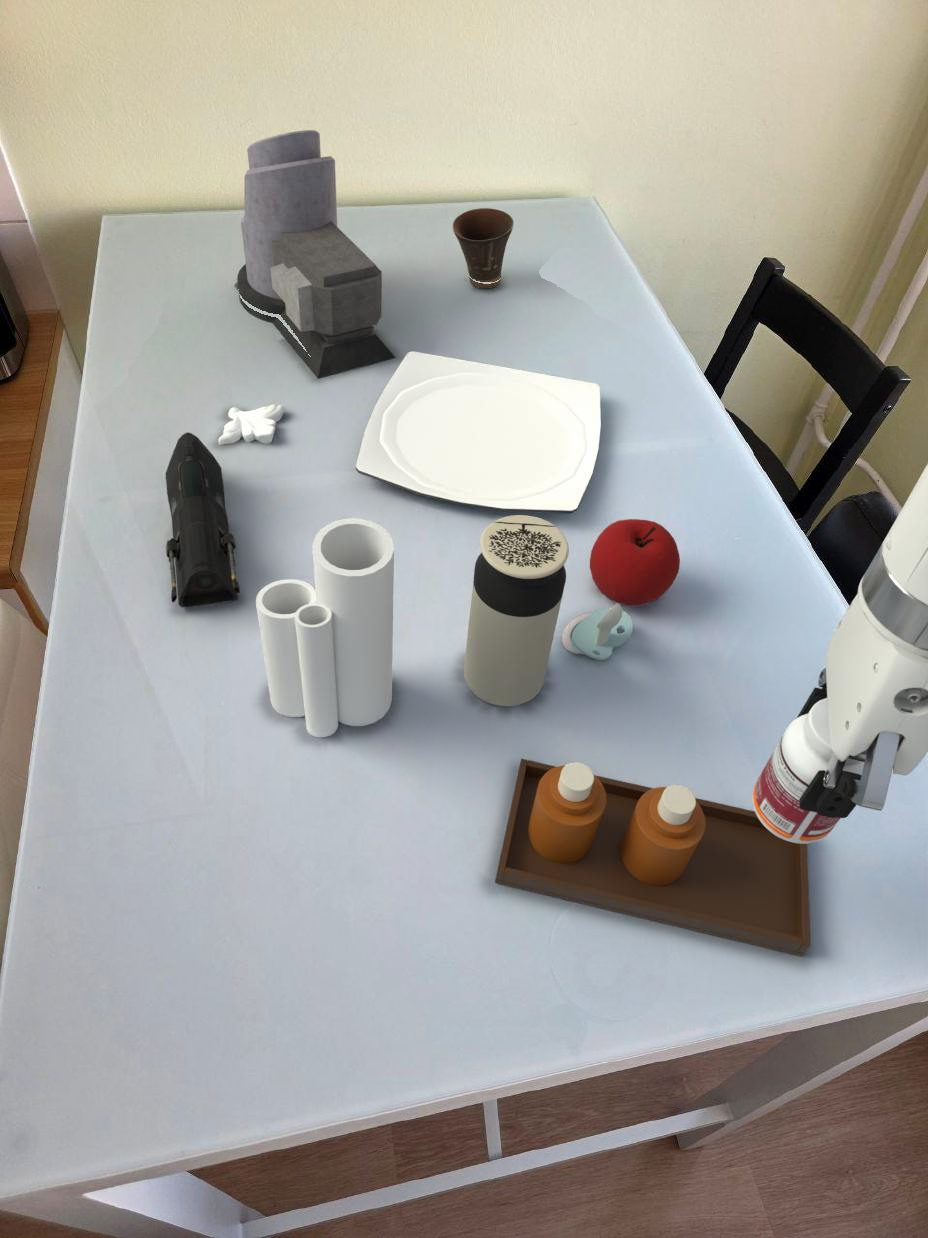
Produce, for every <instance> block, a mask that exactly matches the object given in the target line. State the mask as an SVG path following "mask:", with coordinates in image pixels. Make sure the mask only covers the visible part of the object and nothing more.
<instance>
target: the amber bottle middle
mask: <svg viewBox="0 0 928 1238" xmlns="http://www.w3.org/2000/svg"><path fill="white" fill-rule="evenodd" d="M695 798H696V797H695V795H694V793H693V792H692V791H691V790H690V789H689V788H687V786H684V785H681V784H671V785H669V786H658V787H654V789H651V790H649V791H647V792H646V793H644V794H643V795H642V796H641V798H640V799H639V801H638V803H637V805H636V808H635V810H634V813H633V815H632V817H631V820H630V822H629V825H628V827H627V830H626V832H625V835H624V837H623V839H622V842H621V846H620V853H621V858H622V861H623V863H624V865H625V867H626V868H627V870H628V871H629V872H630V873H631V874H632V875H633V876H634V877H635V878H637V879H638V880H640V881H642V882H644V883H647V884H650V885H666V884H670V883H672V882H674V881H675V880H677V879H678V878H679V877H680V876H681V875H682V873H683V871H684V869H685V868H686V866H687V864H688V862H689V860H690V858H691V857H692V855H693V853H694V851H695V849H696V847H697V846H698V844H699V842H700V840H701V838H702V836H703V834H704V832H705V826H706V822H705V816H704V813H703V811H702V809H701V807H700V806H699V804H698V803H697V802H696V799H695Z"/></svg>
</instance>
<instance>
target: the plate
mask: <svg viewBox="0 0 928 1238" xmlns="http://www.w3.org/2000/svg"><path fill="white" fill-rule="evenodd" d="M601 416H602V415H601V387H600V386H599V384H597V383H594V382H589V381H583V380H577V379H572V378H567V377H560V376H555V375H549V374H545V373H540V372H539V373H538V372H533V371H529V370H523V369H516V368H513V367H512V368H511V367H505V366H501V365H500V366H499V365H495V364H488V363H482V362H476V361H472V360H465V359H461V358H460V359H459V358H453V357H449V356H443V355H437V354H430V353H425V352H418V351H413V350H412V351H409V352H407V353H406V354H405V357H404V358H403V359H402V360H401V362H400V364H399V366H398V367H397V368H396V370H395V372H394V373H393V375H391V377H390V380H389V381H388V382H387V384H386V386H385V387H384V389H383V391H382V392H381V395H380V396H379V397H378V400H377V402H376V404H375V405H374V407H373V410H372V413H371V415H370V417H369V419H368V422H367V424H366V427H365V430H364V433H363V436H362V439H361V444H360V448H359V451H358V456H357V460H356V464H355V468H354V469H355V471H356V472H357V473H358V474H360V475H363V476H366V477H368V478H371V479H374V480H377V481H379V482H382V483H384V484H388V485H391V486H394V487H396V488H399V489H402V490H405V491H408V492H410V493H412V494H414V495H415V494H416V495H418V496H422V497H425V498H430V499H435V500H439V501H443V502H447V503H451V504H455V505H460V506H465V507H472V508H479V509H485V510H486V509H487V510H494V511H499V512H520V513H545V514H546V513H547V514H548V513H549V514H573V513H575V512H577V511H578V509H579V507H580V504H581V502H582V500H583V497H584V495H585V493H586V491H587V488H588V486H589V483H590V482H591V479H592V476H593V474H594V473H593V472H594V469H595V465H596V463H597V457H598V454H599V447H600V438H601V437H600V436H601V427H602V422H601V420H602V419H601Z"/></svg>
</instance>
